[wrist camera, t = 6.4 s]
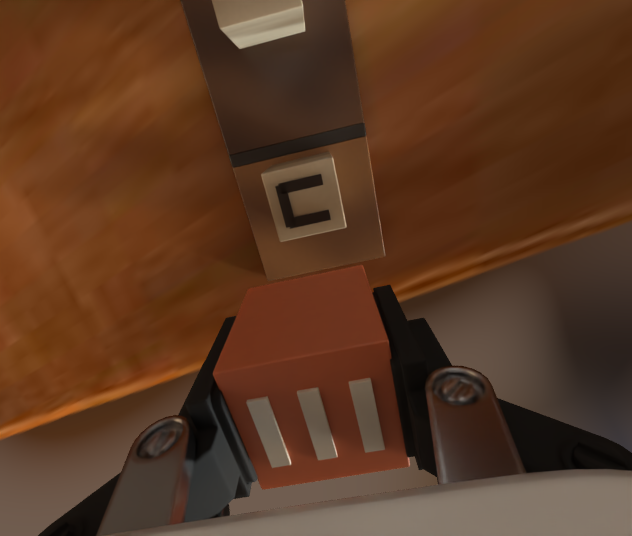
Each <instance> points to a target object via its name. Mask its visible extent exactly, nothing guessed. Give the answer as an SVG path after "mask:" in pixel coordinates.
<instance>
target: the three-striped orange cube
mask: <svg viewBox="0 0 632 536" xmlns="http://www.w3.org/2000/svg"><path fill="white" fill-rule="evenodd" d="M391 358H392V357H391V351H390V346H389V340H388V337H387V334H386V331H385V329H384V326H383V323H382V320H381V317H380V314H379V311H378V308H377V306H376V303H375V300H374V297H373V294H372V291H371V288H370V285H369V282H368V280H367V277H366V274H365V271H364V268H363V266H362V265H358V266H354V267H349V268H344V269H339V270H334V271H330V272H325V273H320V274H315V275H311V276H306V277H301V278H296V279H291V280H287V281H282V282H277V283H272V284H268V285H263V286H258V287H253V288H249V289H248V290H247V293H246V295H245V298H244V300H243V302H242V305H241V307H240V309H239V312H238V314H237V317H236V319H235V321H234V324H233V326H232V328H231V331H230V333H229V336H228V338H227V340H226V343H225V345H224V347H223V350H222V352H221V354H220V357H219V359H218V362H217V364H216V366H215V369H214V371H213V376H214V378H215V380H216V383H217V385H218V388H219V390H220V391H222V394H223V396H224V398H225V401H226V403H227V405H228V408H229V410H230V413H231V415H232V417H233V420H234V422H235V424H236V427H237V429H238V431H239V434H240V436H241V438H242V441H243V443H244V446H245V448H246V450H247V453H248V455H249V457H250V460H251V462H252V464H253V467H254V469H255V471H256V474H257V476H258V478H257V479H258V481H259V483H260V486H261V488H262V489H270V488H276V487H283V486H289V485H295V484H302V483H308V482H315V481H321V480H327V479H334V478H340V477H347V476H352V475H359V474H365V473H372V472H378V471H385V470H391V469H397V468H404V467H409V466H410V462H409V457H407V455H406V450H405V444H404V439H403V433H402V427H401V422H400V416H399V410H398V404H397V399H396V393H395V387H394V382H393V376H392V370H391V365H390V359H391Z"/></svg>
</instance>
